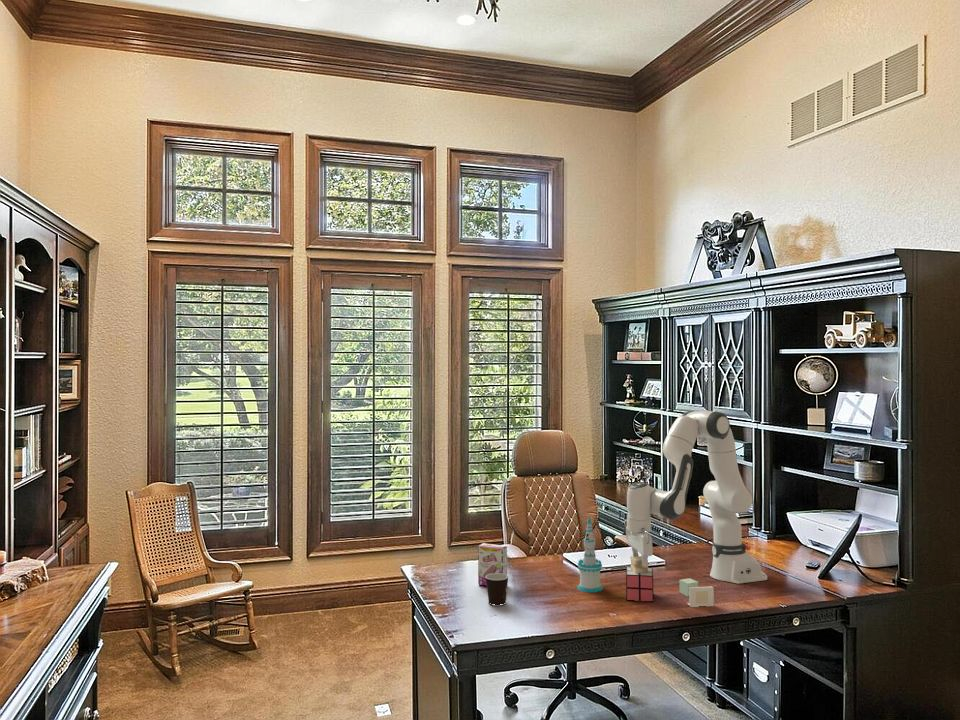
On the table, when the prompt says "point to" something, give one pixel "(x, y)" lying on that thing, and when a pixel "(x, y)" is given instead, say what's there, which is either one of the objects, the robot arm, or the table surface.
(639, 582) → the puzzle cube
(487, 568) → the candy bar box
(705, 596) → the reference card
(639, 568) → the beech block
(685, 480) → the robot arm
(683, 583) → the sage block
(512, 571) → the table surface
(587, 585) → the model tower
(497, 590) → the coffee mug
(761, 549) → the table surface
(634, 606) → the table surface
